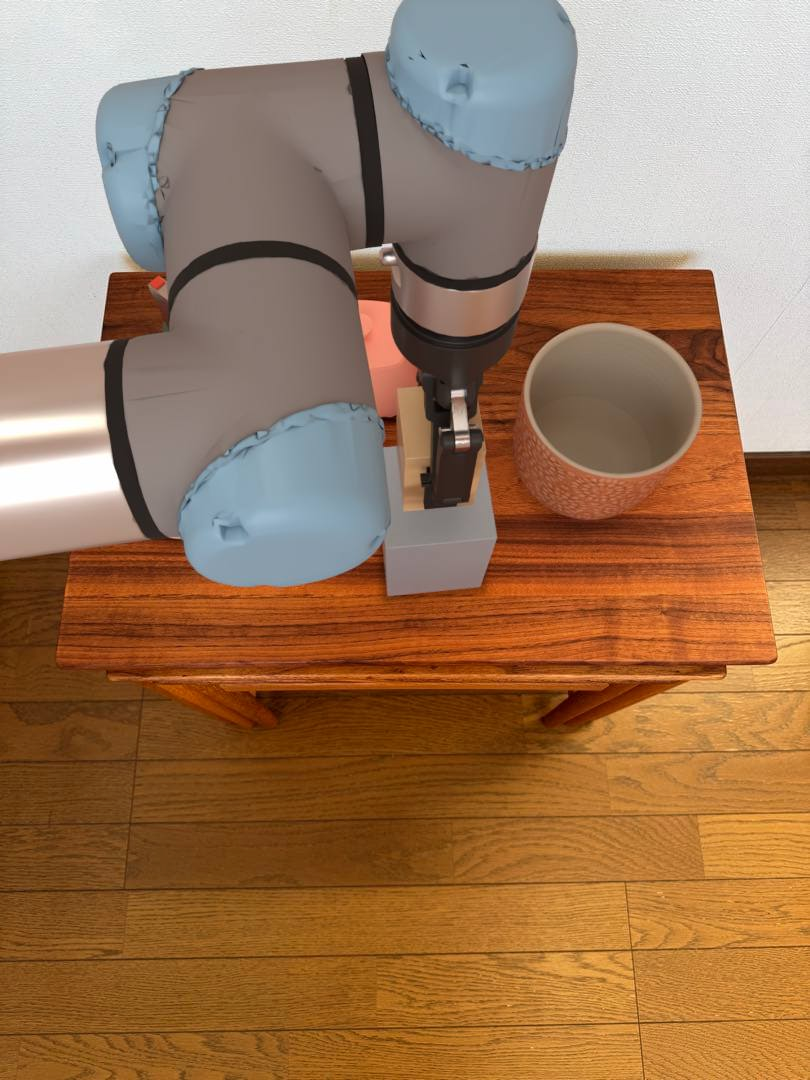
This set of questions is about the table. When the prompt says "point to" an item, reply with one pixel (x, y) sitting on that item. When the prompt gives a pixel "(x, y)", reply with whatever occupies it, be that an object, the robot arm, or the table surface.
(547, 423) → the planter
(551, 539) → the table surface
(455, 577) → the stand
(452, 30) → the robot arm
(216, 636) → the table surface
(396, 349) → the teapot
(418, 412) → the block
